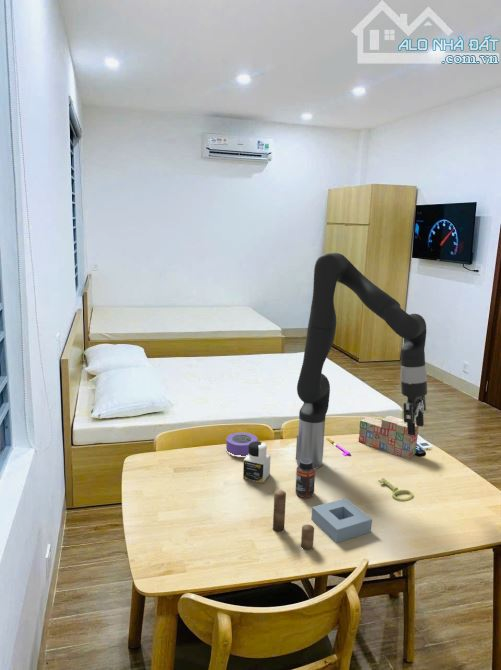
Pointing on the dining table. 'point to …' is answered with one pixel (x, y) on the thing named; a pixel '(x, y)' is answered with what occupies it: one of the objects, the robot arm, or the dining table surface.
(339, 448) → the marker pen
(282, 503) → the walnut pin tall
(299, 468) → the supplement bottle
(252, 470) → the medicine bottle
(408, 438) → the stack of blocks
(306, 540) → the walnut pin short
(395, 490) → the key
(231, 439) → the tape roll
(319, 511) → the collar block
